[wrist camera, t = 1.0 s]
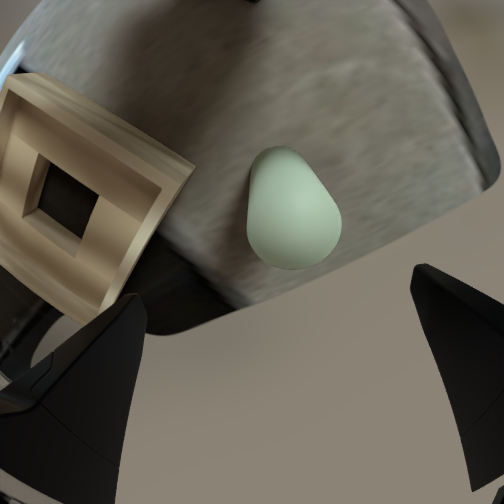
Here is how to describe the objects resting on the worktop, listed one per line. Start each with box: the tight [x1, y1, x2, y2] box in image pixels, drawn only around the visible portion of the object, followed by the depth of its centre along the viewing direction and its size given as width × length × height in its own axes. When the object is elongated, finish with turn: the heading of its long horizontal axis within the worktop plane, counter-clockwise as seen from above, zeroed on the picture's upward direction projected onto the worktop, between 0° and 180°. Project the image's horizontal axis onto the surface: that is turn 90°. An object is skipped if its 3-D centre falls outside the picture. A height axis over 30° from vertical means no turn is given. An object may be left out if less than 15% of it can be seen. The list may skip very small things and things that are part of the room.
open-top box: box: [0, 73, 196, 327], centre depth 19 cm, size 16×16×4 cm
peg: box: [247, 146, 341, 270], centre depth 16 cm, size 4×4×9 cm
